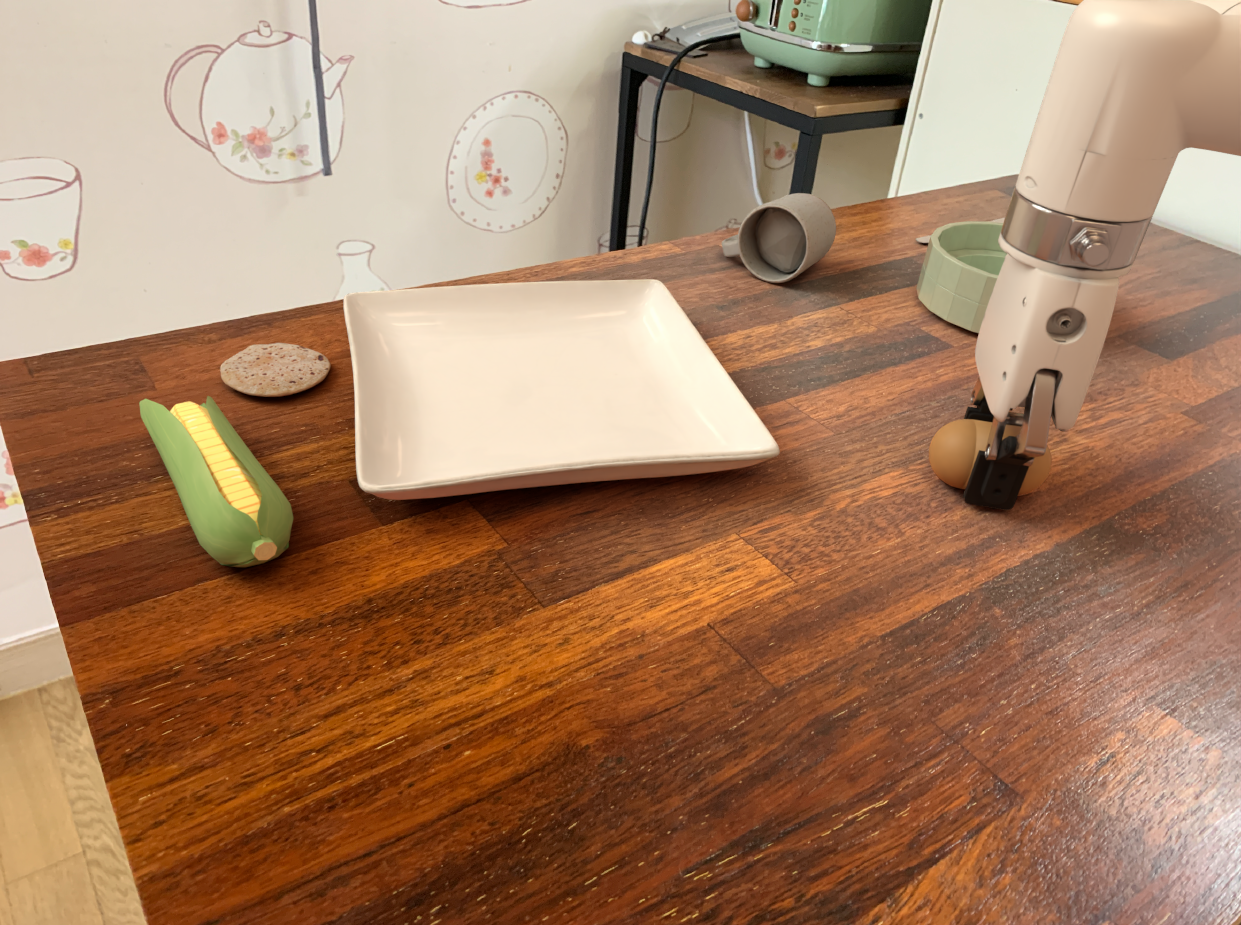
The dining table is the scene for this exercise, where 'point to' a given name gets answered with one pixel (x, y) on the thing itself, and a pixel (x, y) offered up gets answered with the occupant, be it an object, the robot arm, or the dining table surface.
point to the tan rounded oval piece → (976, 453)
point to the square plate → (538, 389)
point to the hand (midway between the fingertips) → (981, 478)
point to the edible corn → (220, 483)
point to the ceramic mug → (783, 237)
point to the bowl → (961, 271)
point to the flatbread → (274, 369)
